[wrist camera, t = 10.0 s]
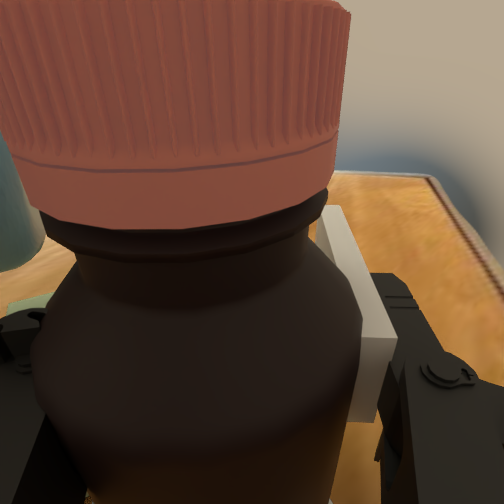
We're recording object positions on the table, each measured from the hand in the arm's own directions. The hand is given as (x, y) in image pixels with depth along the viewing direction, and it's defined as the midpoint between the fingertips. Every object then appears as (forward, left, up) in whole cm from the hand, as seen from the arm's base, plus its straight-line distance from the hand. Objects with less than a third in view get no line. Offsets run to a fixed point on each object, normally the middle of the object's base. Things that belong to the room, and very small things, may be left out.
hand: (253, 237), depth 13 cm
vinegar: (+4, -3, -14) cm, 15 cm away
